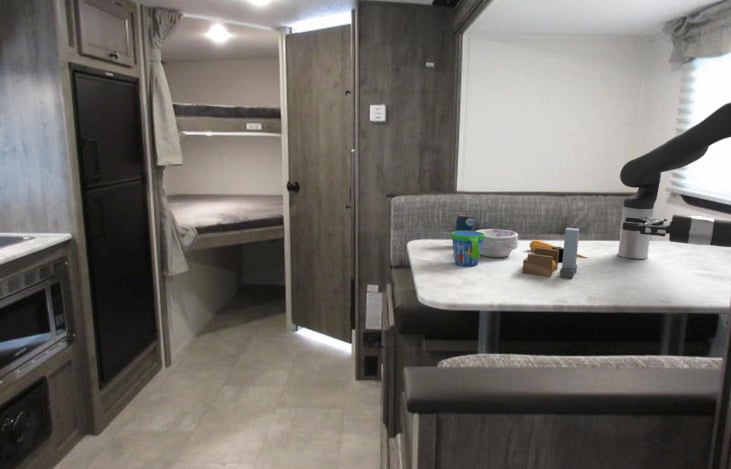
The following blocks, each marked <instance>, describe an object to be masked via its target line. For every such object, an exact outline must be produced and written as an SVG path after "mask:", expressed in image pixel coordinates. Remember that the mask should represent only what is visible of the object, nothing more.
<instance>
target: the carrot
mask: <svg viewBox="0 0 731 469" xmlns="http://www.w3.org/2000/svg"><path fill="white" fill-rule="evenodd" d="M536 247H537V248H545V249H552V247H557V246H556V245H553V244H550V243H547V242H544V241H542V240H539V239H535V240H534V239H533V240H532V241H531V242H530V244H529V248H530V251H532V252H534V253H535V248H536ZM577 258H581V259H582V258H583V259H585V258H586V259H587V257H586V256H584V255H581V254H579V253H577Z"/></svg>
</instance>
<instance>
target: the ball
mask: <svg viewBox="0 0 731 469" xmlns="http://www.w3.org/2000/svg"><path fill="white" fill-rule="evenodd" d="M555 270H557V269H556V263H555V261H553V262H552V272H554V271H555Z"/></svg>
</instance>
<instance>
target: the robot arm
mask: <svg viewBox="0 0 731 469" xmlns="http://www.w3.org/2000/svg"><path fill="white" fill-rule="evenodd" d="M729 138H731V101H729V102H726V103H724V104H722V105H721V106H720V107H718V108H717V109H716V110H715V111H713V112H712V113H711V114H709V115H708V116H707V117H705V118H704V119H703V120H701V121H700V122H698V123H696V124H695V125H693V126H691V127H689V128H687V129H686V130H685V131H683V132H681V133H678V134H677V135H676V136H674V137H671V138H670V139H669V140H667V141H666V142H664V143H663V144H661V145H658V146H657V147H656V148H653V149H652V150H650V151H649V152H647V153H645V154H643V155H641V156H637V157H635V158H633V159H632V160H628V161H627V162H626V163H625V164H624V165H623V166H622V168H621V170H620V174H619V179H620V181H621V183H622V185H624V186H626V187H629V188H635V189H637V191H636V192H635V193H634V194H632V195H630V196H627V197H625V198H624V200H623V204H622V205H623V206H622V215H621V223H620V225H621V226H620V233H619V241H618V242H619V243H618V252H617V255H618V256H619V257H623V258H629V259H635V260H637V259H638V260H639V259H641V260H643V259H644V260H645V259H647V258H648V256H649V249H650V248H649V247H650V241H651V240H650V239H651V236H656V237H657V236H658V237H665V236H666V234H667V235H669V238H668V241H669V242H671V243H678V244H679V243H680V244H689V245H696V246H697V245H698V246H713V247H714V246H715V247H722V248H723V247H724V248H731V220H729V219H727V220H726V219H719V218H718V219H717V218H716V219H715V218H709V217H705V216H704V217H703V216H694V215H683V214H673V215H672V217H671V221H668V219H667V218H661V217H660V218H658V217H653V216H654V215H653V214H654V208H655V203H656V202H657V199H658V194H659V193H658V192H659V188H660V183H661V177H662V173H665V172H670V171H675V170H678V169H681V168H684V167H687V166H688V165H691V164H693V163H695V162H697V161H698V160H700V159H701V158H702V157H704V156H705V155H706V153H707V151H708V150H709V148H710V146H712V145H714V144H715V143H718V142H719V141H723V140H725V139H729Z"/></svg>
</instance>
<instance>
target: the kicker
mask: <svg viewBox="0 0 731 469" xmlns="http://www.w3.org/2000/svg"><path fill="white" fill-rule="evenodd" d="M579 236H580V228H575V227H574V228H573V227H566V228H565V231H564V240H563V248H564V250H563V261H562V263H561V264H562V265H561V268H560V269H559V278H563V279H567V280H568V279H570V280H573V278H574V276H575V275H576V274H577V272H578V264H577V260H578V259H577V258H578V257H577V254H578V245H579Z"/></svg>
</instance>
